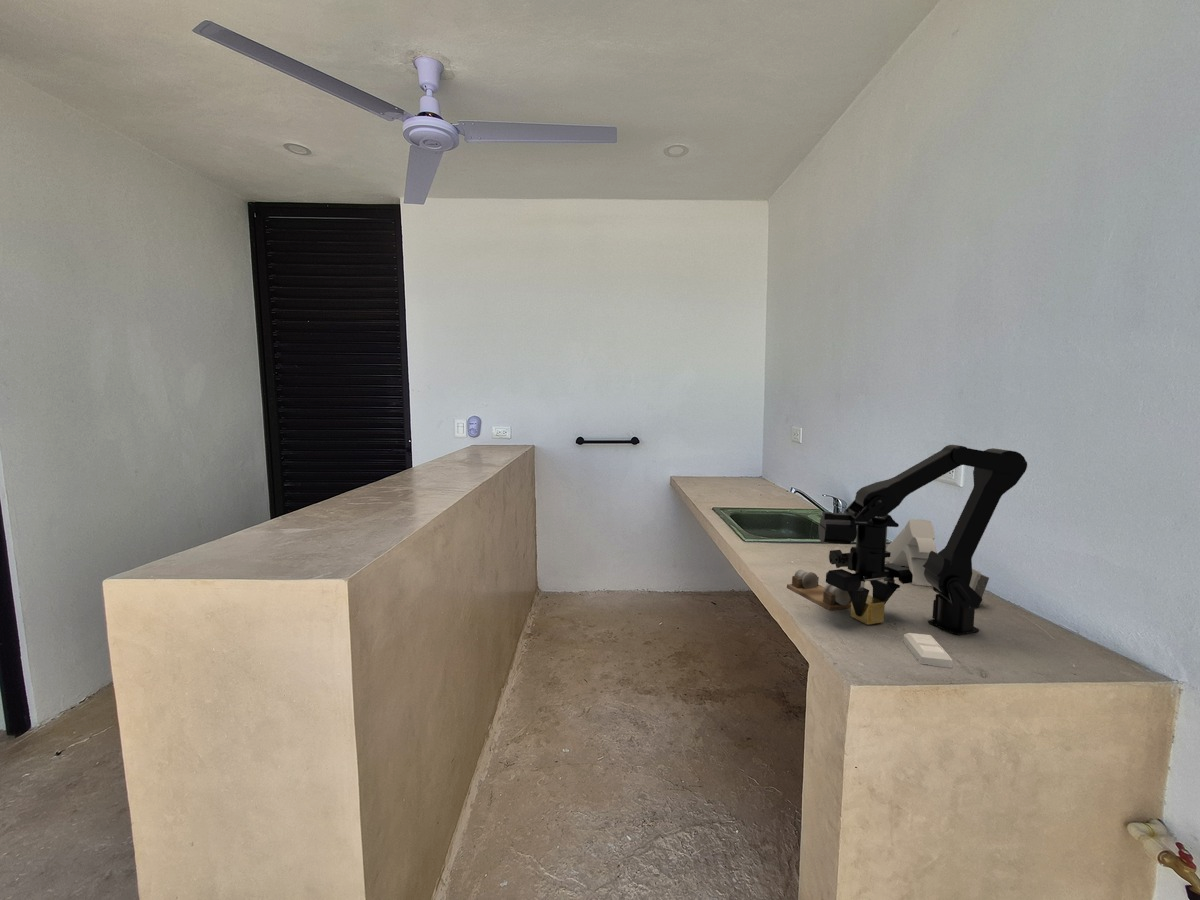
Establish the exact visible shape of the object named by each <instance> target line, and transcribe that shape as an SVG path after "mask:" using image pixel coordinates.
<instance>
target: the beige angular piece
mask: <svg viewBox="0 0 1200 900" xmlns="http://www.w3.org/2000/svg"><path fill="white" fill-rule="evenodd" d="M935 539H936V534H935V529H934V525H933V523H932V520H928V519H921V518H920V519H919V518H917V519H908V521H907V522H906V525H905V526H904V528H903V529H902V530H901V531H900V532H899V533H898V534H897V536H895V538H894V539H893V540H892V541H891V542H890V543H889V544H888V545H887V546H886V551H888V552H891V555H890V557H887V561H888V564H889V563H893V564H896V565H899V566H905V567H904V568H908V569H909V570H910V571H911V573H912V574H913V579H912V583H911V585H912V586H921V585H922V586H923V587H932V585H931V584H930V583H929V582H928V581H927V580H926V578H925V576H924V571H925V568H924V567H923V565H924V564H925V563H926V562H927V560H928V557H929V553H930V552H931V551H934V552H936V553H938V552H937V546H936V543H935V541H934V540H935ZM922 586H921V587H922Z"/></svg>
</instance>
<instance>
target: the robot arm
mask: <svg viewBox="0 0 1200 900" xmlns="http://www.w3.org/2000/svg"><path fill="white" fill-rule="evenodd" d="M960 466H967V467H971V468H973V471H972V475H973V488H972V490H971V493H970V494H969V496H968V499H967V501H966V503H965V505H964V506H963V509H962V511H961V513H960V515H959V517H958V520H957V522H956V524H955V525H954V528H953V530H952V533H951V534H950V537H949V539H948V540H947V543H946V545H945V547H944V548H942V549H941V550H940V551H939V552H937V553H936V552H934V551H931V552H930V553H929V557H928V560H927V562H926V563H925V564H924V565H923V567H924V568H925V571H924V576H925V578H926V580H927V581H928V582H929V583H930V584H931V585H932V586H931V588H932V590H933V592H935V593H936V594H935V596H934V597H935V599H934V600H933V604H932V618H931V619H928V624H931V625H934V626H936V627H938V628H940V629H943V630H945V631H947V632H949V633H952V634H954V635H956V636H961V635H964V634H965V635H966V634H972V633H978V632H979V631H980V629H979V628H978V627H976V626H975V624H974V623H975V613H976V612H975V610H976V609H978V608H979V607H980V605H981V603H982V602H983V597H982V598H981V597H980V596H979V595H978V594H977V593H976V592H975V591H974V590H973V589H972V588H971V587H970V582H971V578H972V568H973V561H972V559H973V556H974V555H975V554H974V553H975V552H976V550H977V548H978V545H979V544H980V541H981V539H982V537H983V535H984V533H985V531H986V529H987V527H988V524H989V523H990V521H991V519H992V517H993V515H994V512H995V511H996V508H997V507H998V504H999V502H1000V500H1001V499H1002V496H1003V495H1005V493H1007V492H1008V491H1010V490H1011V489H1012V488H1013V487H1014V486H1016V485H1018V482H1019V481H1020V480H1021V478H1022V476H1023V475H1024V474H1025V472H1026V471H1027V468H1028V461H1027V460H1026V459H1025V456H1024V455H1023V454H1021V453H1019V451H1015V450H1010V449H1009V450H1007V449H1001V448H987V449H985V450H980V449H976V448H975V449H974V448H969V447H967V446H963V445H959V444H948V445H946V446H943V448H942V449H941V450H939V451H937V452H935V453H933V454H932V455H931V456H929V457H927V458H925V459H923V460H921V461H920V462H918V463H916V464H915V465H913V466H910V467H909V468H908V469H905V470H904V471H902V472H900V473H899V474H896V475H895V476H894V477H890V478H888V479H884V480H880V481H876V482H873V483H871V484H868V485H865V486H862V487H861V488H859V489H858V490H857V491H856V493H855V497H854V500H853V501H852V502H851V503H850V504H849V505H848V506H847V508H846V509H845V510H844V511H843V512H831V511H822V514H821V517H820V519H819V523H818V529H817V530H818V537H819V542H820V543H823V544H840V545H841V544H842V545H851V543H854V542H855V546H851V547H850V550H849V552H844V553H843V552H842V550H841V549H834V550H833V549H832V550H829V554H828V559H829V563H830V564H831V565H835V568H836V569H831V570H828V571H827V572H826V574H825V583H826V584H830V585H832V586H835V587H837V588H839V589H841V590H843V591H847V592H848V594H849V596H850V599H851V602H852V605H853V608H854V611H855V614H856V615H857V616H859V617H860V616H861V615H862V613H863V610H864V607H865V603H866V600H867V597H868V595H869V594H870V593H869V592H870V590H869V589H868V588H865V583H866V582H870V585H871V588H872V597H875V598H877V599H879V600H881V601H884V602H885V605H886V604H887V602H888V601H889V599H890V598H891V597H892V596H893V594H894V593H895V592H896V591H897V589H900V587H901V585H900V584H902V585H905V584H906V585H907V584H912V579H913V574H912V573H911V571H910V569H909V568H908V567H901V566H899V565H896V564H893V563H889V562H888V563H886V559H887V558H888V557H890V555H891V552H888V551H887V541H888V539H887V538H888V528H889V527H890V528H898V527H899V526H900V525H899V523H898V522H897V521H895V519H893V517H892V516H891V515H890V513H891V512H892V511H893V510H895V509H897V507H898V506H900V504H901V503H902V502H903V501H904V499H906V497H908V496H909V495H910V494H912V493H914V492H915V491H917V490H919V489H921V488H923V487H925V486H926V485H928V484H929V483H931V482H933V481H935V480H937V479H939V478H940V477H942V476H944V475H945V474H947V473H949V472H951V471H953V470H954V469H957V468H958V467H960ZM842 567H843V568H845V567H846V568H847V570H850V571H852V572H853V571H854V573H852V572H850V571H847V570H845V569H842ZM895 578H898V581H899V582H900V584H899V583H896V582H895V581H896V580H895Z"/></svg>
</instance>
